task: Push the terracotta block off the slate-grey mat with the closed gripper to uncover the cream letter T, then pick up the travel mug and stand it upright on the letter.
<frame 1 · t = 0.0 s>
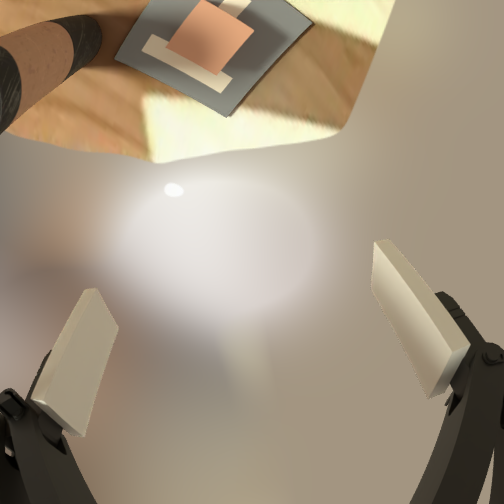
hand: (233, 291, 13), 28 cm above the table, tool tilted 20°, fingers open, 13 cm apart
terracotta block: (210, 32, 25), point 1 cm above the table, touching letter mat
letter mat: (210, 32, 25), on the table
travel mug: (76, 41, 23), on the table
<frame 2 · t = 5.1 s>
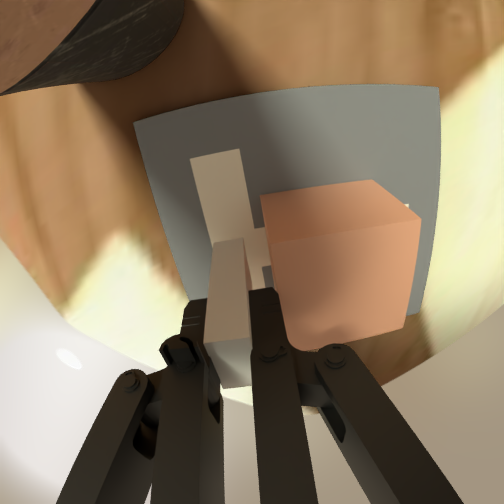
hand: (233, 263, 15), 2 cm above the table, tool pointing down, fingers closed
terracotta block: (322, 237, 16), point 1 cm above the table, touching gripper
letter mat: (315, 232, 17), on the table
travel mug: (117, 18, 10), on the table
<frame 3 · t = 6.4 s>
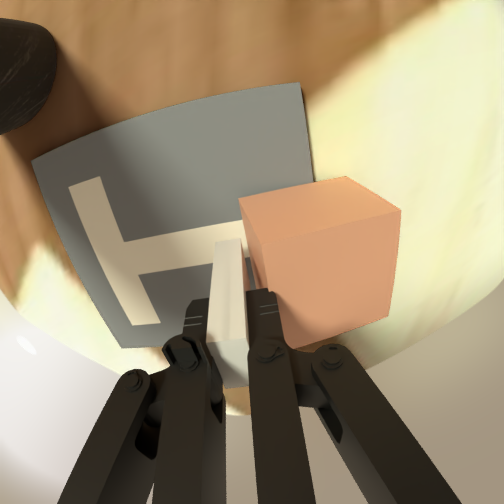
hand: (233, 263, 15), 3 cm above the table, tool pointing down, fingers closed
terracotta block: (300, 236, 17), point 1 cm above the table, tilted 11°, touching gripper, letter mat
letter mat: (181, 245, 18), on the table
travel mug: (18, 75, 11), on the table
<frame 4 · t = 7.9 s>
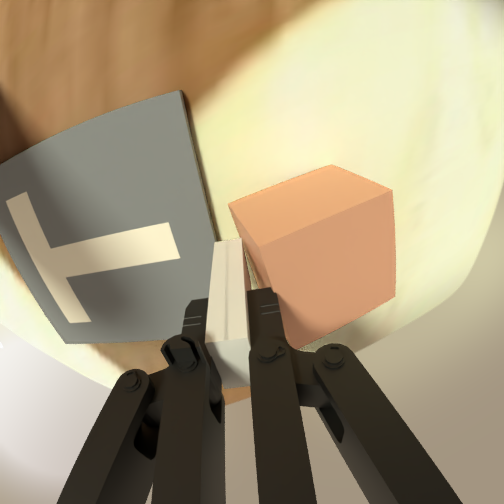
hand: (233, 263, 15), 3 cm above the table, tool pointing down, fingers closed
terracotta block: (295, 231, 16), point 1 cm above the table, tilted 15°, touching gripper
letter mat: (97, 251, 17), on the table
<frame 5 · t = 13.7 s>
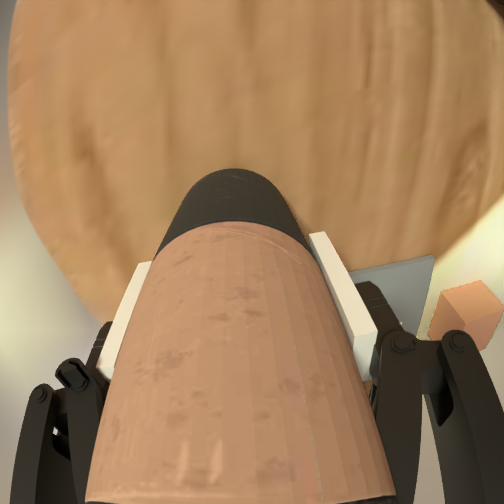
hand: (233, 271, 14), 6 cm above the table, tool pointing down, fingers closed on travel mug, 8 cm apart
terracotta block: (454, 306, 26), on the table
letter mat: (345, 339, 27), on the table
travel mug: (233, 217, 20), on the table, touching gripper
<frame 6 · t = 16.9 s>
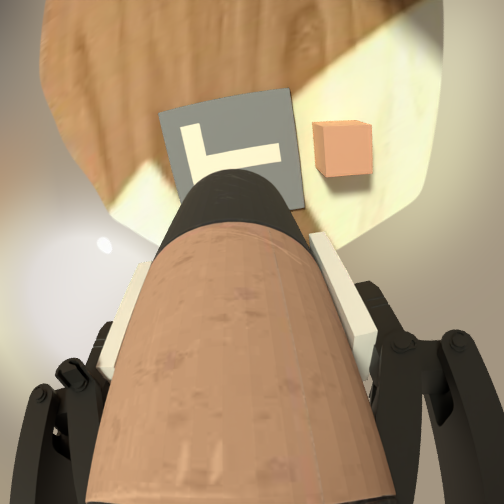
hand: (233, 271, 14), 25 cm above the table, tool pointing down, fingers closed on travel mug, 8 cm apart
terracotta block: (335, 143, 36), on the table
letter mat: (234, 158, 36), on the table
travel mug: (233, 218, 20), point 19 cm above the table, touching gripper
when the fingers open (8 cm above the table, at t = 20.4 s): travel mug drops 1 cm, resting on letter mat.
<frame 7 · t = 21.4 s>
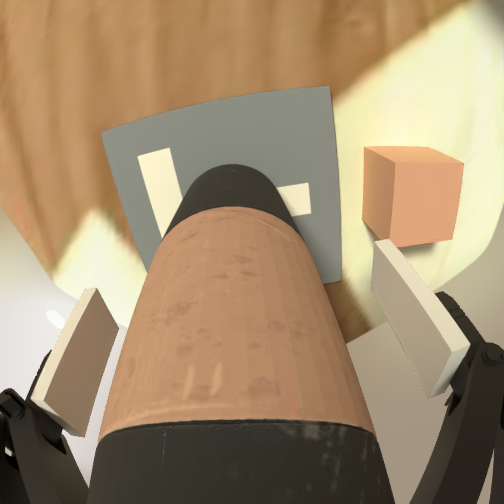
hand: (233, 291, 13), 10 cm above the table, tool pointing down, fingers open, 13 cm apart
terracotta block: (395, 181, 22), on the table
letter mat: (232, 208, 22), on the table
travel mug: (232, 209, 21), resting on letter mat
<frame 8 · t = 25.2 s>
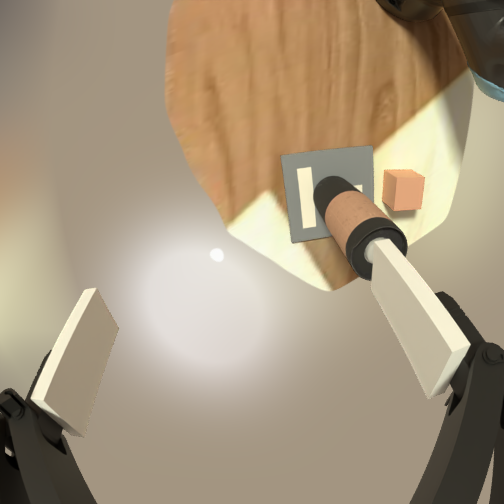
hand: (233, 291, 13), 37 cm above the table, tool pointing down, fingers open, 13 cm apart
terracotta block: (396, 184, 49), on the table
letter mat: (331, 193, 50), on the table
travel mug: (332, 194, 49), resting on letter mat
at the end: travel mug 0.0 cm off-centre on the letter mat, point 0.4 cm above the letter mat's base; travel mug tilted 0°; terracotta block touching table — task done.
